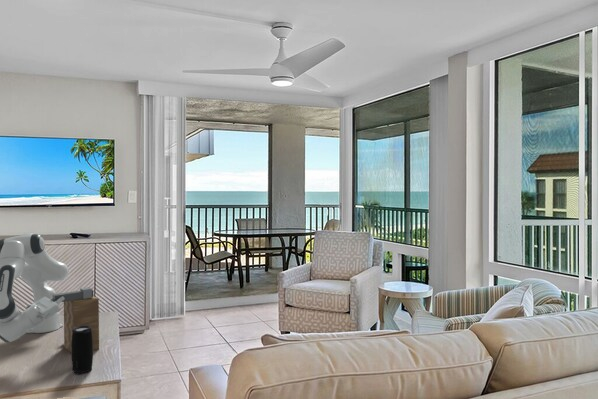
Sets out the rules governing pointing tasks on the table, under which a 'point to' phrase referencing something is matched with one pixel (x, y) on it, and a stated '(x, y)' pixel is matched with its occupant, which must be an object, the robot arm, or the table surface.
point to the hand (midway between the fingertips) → (62, 296)
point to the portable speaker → (82, 349)
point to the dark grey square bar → (75, 295)
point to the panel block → (81, 319)
